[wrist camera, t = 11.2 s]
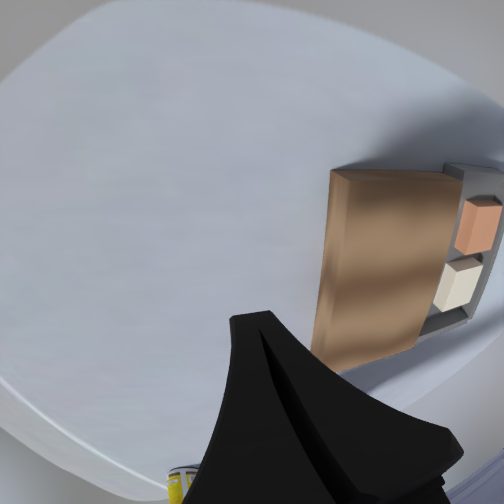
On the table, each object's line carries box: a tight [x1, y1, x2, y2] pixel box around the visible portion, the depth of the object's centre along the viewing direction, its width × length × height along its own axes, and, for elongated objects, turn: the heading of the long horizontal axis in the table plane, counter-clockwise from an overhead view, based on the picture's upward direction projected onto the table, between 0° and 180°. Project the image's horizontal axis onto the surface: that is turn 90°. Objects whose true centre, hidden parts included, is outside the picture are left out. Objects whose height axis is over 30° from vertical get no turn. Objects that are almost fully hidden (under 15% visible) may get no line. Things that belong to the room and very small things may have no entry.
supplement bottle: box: [167, 468, 198, 504], centre depth 30 cm, size 6×6×10 cm
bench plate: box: [310, 170, 463, 372], centre depth 22 cm, size 16×10×2 cm, turn 1°
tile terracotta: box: [454, 200, 503, 255], centre depth 22 cm, size 4×4×2 cm
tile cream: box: [433, 257, 483, 312], centre depth 25 cm, size 4×4×2 cm
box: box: [416, 163, 504, 343], centre depth 23 cm, size 17×9×2 cm, turn 1°
